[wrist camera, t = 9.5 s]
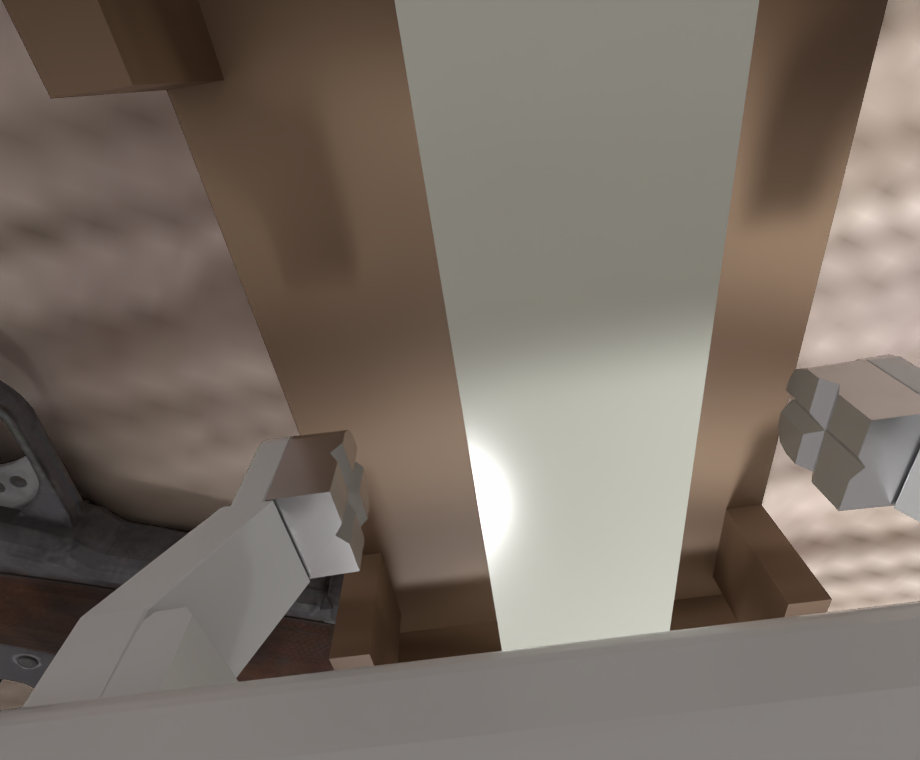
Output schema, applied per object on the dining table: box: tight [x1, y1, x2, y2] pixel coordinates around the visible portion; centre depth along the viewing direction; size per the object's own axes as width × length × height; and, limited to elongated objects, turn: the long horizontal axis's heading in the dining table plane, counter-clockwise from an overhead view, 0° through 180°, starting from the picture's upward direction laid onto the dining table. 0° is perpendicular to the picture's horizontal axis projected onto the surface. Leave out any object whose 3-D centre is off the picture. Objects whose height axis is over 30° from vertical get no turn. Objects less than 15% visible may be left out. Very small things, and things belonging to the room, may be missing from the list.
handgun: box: [0, 380, 344, 688], centre depth 12 cm, size 3×22×14 cm
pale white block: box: [394, 0, 759, 651], centre depth 10 cm, size 14×4×4 cm, turn 8°
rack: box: [2, 0, 888, 670], centre depth 11 cm, size 22×12×4 cm, turn 8°
